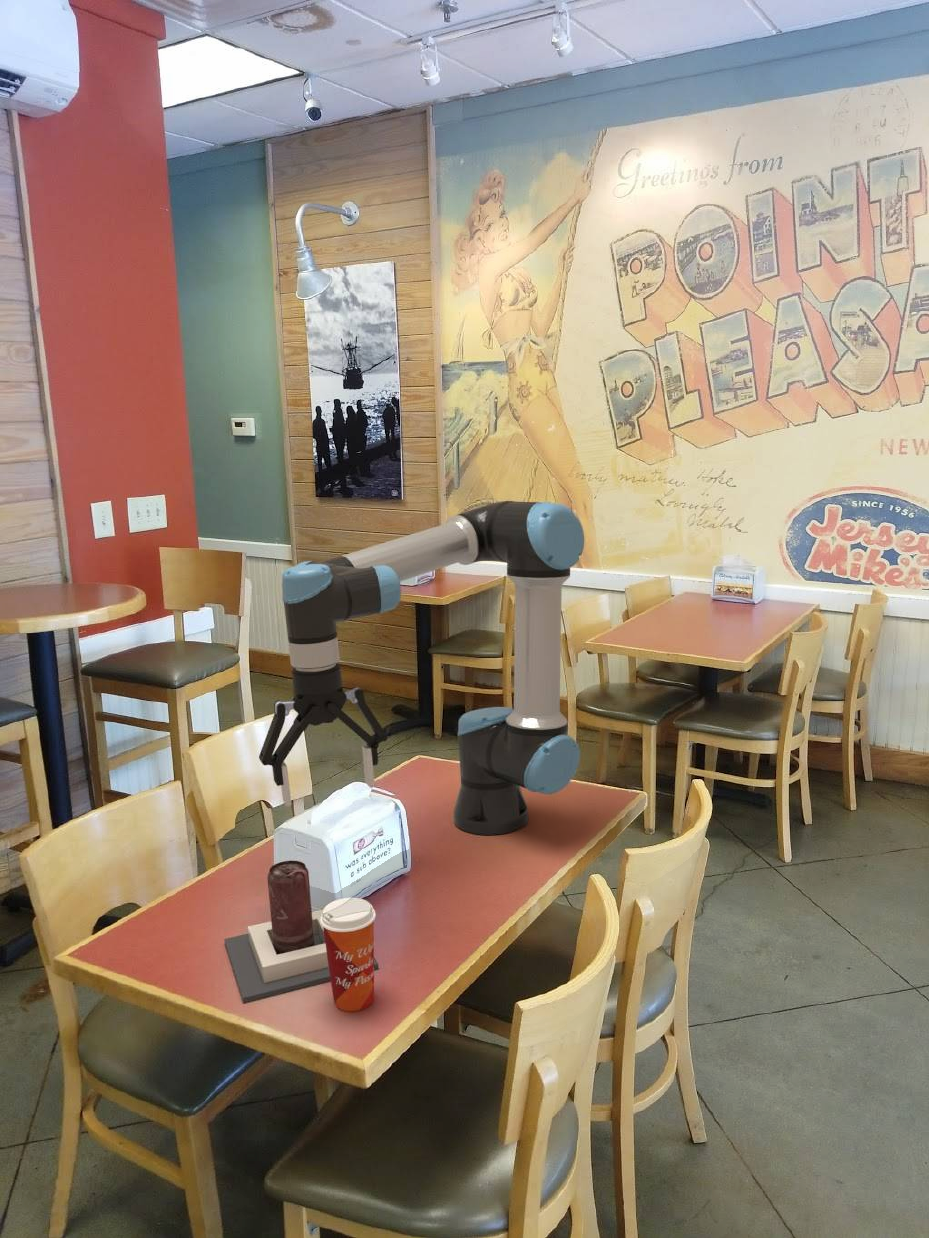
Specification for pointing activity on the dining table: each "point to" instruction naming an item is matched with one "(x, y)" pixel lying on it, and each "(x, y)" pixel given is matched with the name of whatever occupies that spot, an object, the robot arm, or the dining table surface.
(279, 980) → the mat
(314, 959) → the holder
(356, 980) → the paper cup
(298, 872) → the can
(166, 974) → the dining table surface
